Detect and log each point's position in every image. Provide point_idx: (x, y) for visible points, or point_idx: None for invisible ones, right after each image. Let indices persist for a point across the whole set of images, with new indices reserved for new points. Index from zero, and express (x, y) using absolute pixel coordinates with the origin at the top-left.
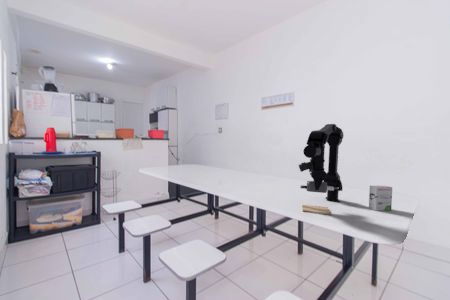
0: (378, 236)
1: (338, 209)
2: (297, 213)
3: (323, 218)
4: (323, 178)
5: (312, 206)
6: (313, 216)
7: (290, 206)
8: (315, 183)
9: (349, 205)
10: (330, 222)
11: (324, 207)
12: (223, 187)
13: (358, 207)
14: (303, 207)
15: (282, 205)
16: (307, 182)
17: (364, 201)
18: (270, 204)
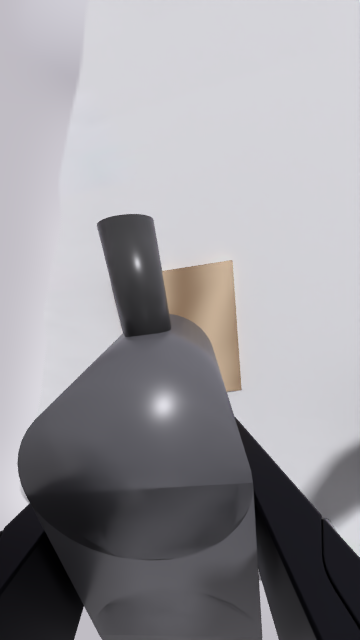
0: (21, 491)
1: (246, 425)
2: (64, 256)
3: (73, 370)
4: None
5: (217, 321)
6: (71, 332)
7: (176, 190)
8: (1, 543)
9: (340, 467)
10: (43, 392)
11: (229, 376)
12: None
13: (318, 491)
14: (169, 276)
15: (170, 125)
16: (66, 393)
17: None
18: (145, 6)
